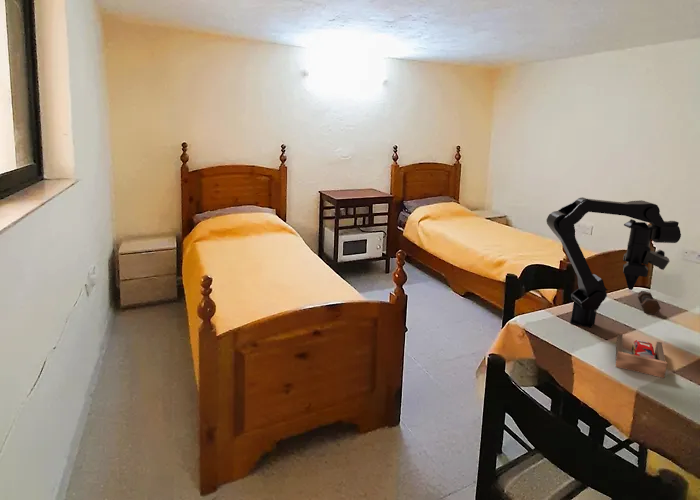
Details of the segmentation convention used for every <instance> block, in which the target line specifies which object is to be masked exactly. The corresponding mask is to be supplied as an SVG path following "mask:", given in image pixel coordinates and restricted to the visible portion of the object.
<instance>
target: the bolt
mask: <svg viewBox="0 0 700 500" xmlns="http://www.w3.org/2000/svg"><path fill="white" fill-rule="evenodd" d="M637 299H638V301H639V303H640V306H641V308H642V311H643V312H644V313H645V314H650V315H656V314H658V313H659V311H660V310H661V306H660V303H659V302H658V300H657V299H654V297H653V295H652V293H651V292H649V291H645V290H641V291H639V293H638V295H637Z"/></svg>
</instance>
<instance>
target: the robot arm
mask: <svg viewBox="0 0 700 500" xmlns="http://www.w3.org/2000/svg"><path fill="white" fill-rule="evenodd" d="M660 210H661V209H660V207H659V206H658V204H656V203H654V202H653V203H652V202H650V201H645V200H629V201H624V202H623V201H622V202H620V201H611V200H602V199H593V198H587V197H578V198H577V199H575V200H574V201H572V202H570V203H568V204H566V205H564V206H562V207H561V208H560V209H558V210H555V211H552V212H550V213H549V214H548V215H547V218H546V224H547V226H548V227H549V229H550V230H551V231H552V232H553V234H554V235H555V237H557V238H558V240H560V242H561V245H562V248H563V249H564V251H565V253H566V255H567V258H568V259H569V262H570V264H571V265H572V268H573V270H574V272H575V274H576V277H577V286H578V288H577V289H575V290H574V291H573V292H572V293H571V294H570V297H571V300H572V301H573V303H572V304H573V305H572V312H571V317H570V321H569V323H570V324H572V325H578V326H582V327H587V328H593V325H595V323H596V317H597V311H599V310H598V309H599V308H600V306H601V304H602V303H603V302H604V301H605V300H606V298H607V296H608V295H607V294H608V293H607V292H608V291H609V290H608V288H607V287H606V286H605V282H604V280H603V279H602V278H601V277H600V276H598V275H597V274H596V273H592V270H591V268H590V267H589V264H588V262H587V259H586V257H585V256H584V253H583V251H582V249H581V247H580V244H579V243H578V240H577V238H576V228H575V225H576V224H578V223H579V222H580V221H581V219H583V217H584V216H586V214H588V213H597V214H605V215H606V214H607V215H613V216H614V215H615V216H625V217H628V218H630V220H629V221H627V222H625V223H624V224H623V226H624V227H626V228H629V229H630V232H629V238H628V241H627V249H626V252H625V253H624V254H623V258H622V259H623V260H622V261H623V262H626V263H624V264H623V265H622V267H623V268H622V269H623V270H622V273H623V275H624V277H625V281H626V285H627V289H628V290H629V291H631V290H632V291H633V289H634V287H635V286H636V284H637V281H638V279H639V277H644V278H645V277H646V278H648V273H649V268H648V265H649V264H651V265H653V266H655V267H656V268H658V269H660V270H662V271H664V270H665V268H666V267H667V265H668V264H669V263H670V259H669V258H668V257H667V256H665V255H666V254H665V251H664V250H661V249H658V250H656V251H653V250H652V249H651V241H652V242H654V243H655V244H656V243H658V244H659V243H660V244H661V243H663V244H677V243H678V242H679V241H680V239H681V237H682V234H681V228H680V227H679V221H677V220H676V221H675V220H669V221H668V220H664V218H663V217H662V215H661V214H660V212H661V211H660ZM636 220H637V221H636ZM638 220H639V221H638ZM647 223H648V224H647Z"/></svg>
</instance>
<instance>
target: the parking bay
mask: <svg viewBox="0 0 700 500" xmlns="http://www.w3.org/2000/svg"><path fill="white" fill-rule="evenodd" d="M623 337H624V336H623V334H621V333H617V336H616V343H615V368H620V369H624V370H629V371H632V372H633V371H634V372H638V373H640V374H641V373H642V374H646V375H648V376H649V375H650V376H655V377H657V378H663V379H664V378H665V376H666V371H667V366H668V362H667V361H666V359H665V352H664V346H663V342H660V341H656V345H655V348H654V353H656V354H657V355H655V359H651V358H647V357H642V356H638V355H633V354H632V353H628V352H623V346H624V345H623V342H624V340H623V339H624V338H623Z"/></svg>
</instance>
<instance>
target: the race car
mask: <svg viewBox="0 0 700 500" xmlns="http://www.w3.org/2000/svg"><path fill="white" fill-rule="evenodd" d="M631 354H633V355H638V356H642V357H647V358H651V359H656V356H655V355H657V354H656V353H655V348H654V347H653V344H652V343H651V342H649V341H647V340H646V341H645V340H640V339H636V340H634V341H633V344H632V348H631Z"/></svg>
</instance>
